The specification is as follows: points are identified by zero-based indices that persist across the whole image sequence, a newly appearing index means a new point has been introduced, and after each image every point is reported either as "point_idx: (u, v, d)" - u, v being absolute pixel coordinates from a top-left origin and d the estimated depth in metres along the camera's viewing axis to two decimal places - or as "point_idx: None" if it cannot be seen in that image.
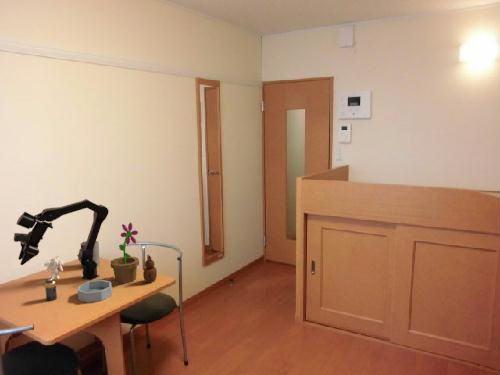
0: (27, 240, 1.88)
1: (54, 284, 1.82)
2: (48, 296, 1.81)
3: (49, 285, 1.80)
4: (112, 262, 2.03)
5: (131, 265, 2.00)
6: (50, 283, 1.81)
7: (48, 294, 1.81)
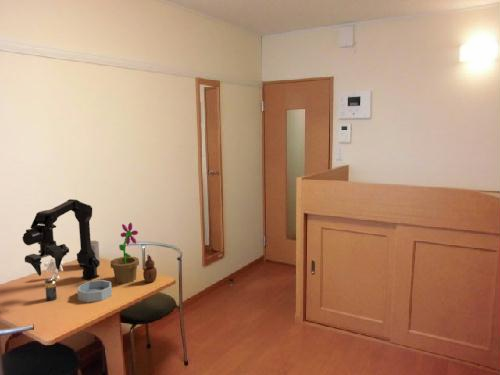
0: None
1: (54, 284, 1.82)
2: (48, 296, 1.81)
3: (49, 285, 1.80)
4: (112, 262, 2.03)
5: (131, 265, 2.00)
6: (50, 283, 1.81)
7: (48, 294, 1.81)
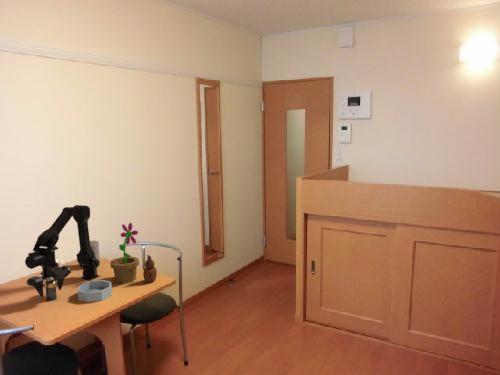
0: None
1: (54, 284, 1.82)
2: (48, 296, 1.81)
3: (49, 285, 1.80)
4: (112, 262, 2.03)
5: (131, 265, 2.00)
6: (50, 283, 1.81)
7: (48, 294, 1.81)
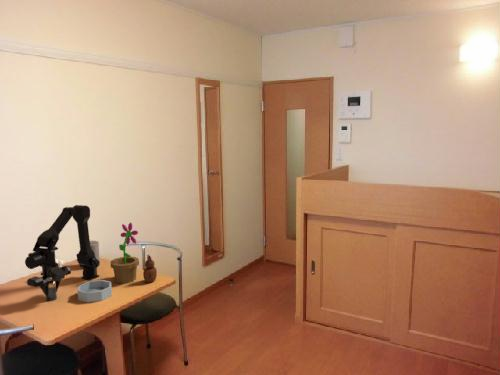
0: None
1: (54, 284, 1.82)
2: (48, 296, 1.81)
3: (49, 285, 1.80)
4: (112, 262, 2.03)
5: (131, 265, 2.00)
6: (50, 283, 1.81)
7: (48, 294, 1.81)
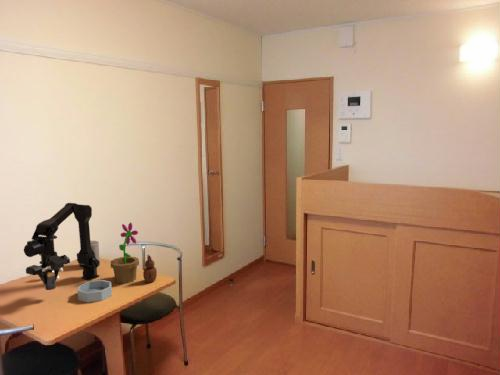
0: None
1: (53, 273, 1.81)
2: (47, 285, 1.80)
3: (48, 274, 1.80)
4: (112, 262, 2.03)
5: (131, 265, 2.00)
6: (49, 272, 1.80)
7: (47, 283, 1.80)
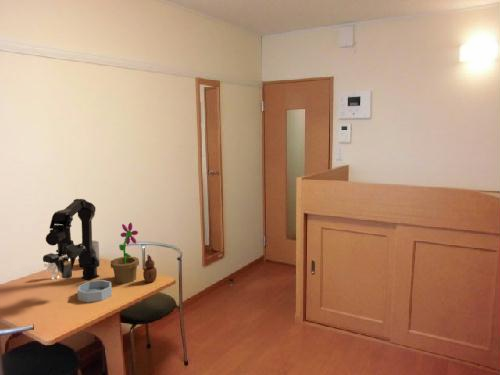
0: None
1: (69, 261, 1.82)
2: (63, 273, 1.81)
3: (64, 262, 1.80)
4: (112, 262, 2.03)
5: (131, 265, 2.00)
6: (65, 260, 1.80)
7: (63, 271, 1.81)
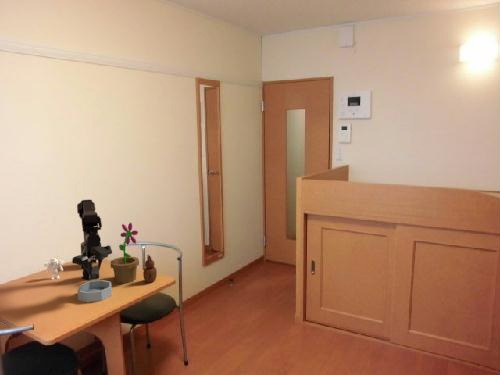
0: None
1: (97, 263, 1.85)
2: (91, 275, 1.84)
3: (93, 264, 1.83)
4: (112, 262, 2.03)
5: (131, 265, 2.00)
6: (94, 262, 1.83)
7: (91, 273, 1.84)
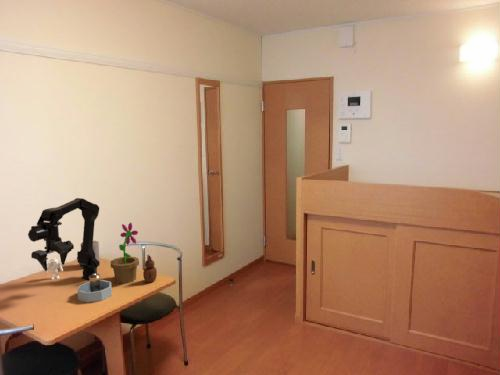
0: None
1: (98, 278, 1.86)
2: (93, 290, 1.85)
3: (94, 279, 1.84)
4: (112, 262, 2.03)
5: (131, 265, 2.00)
6: (95, 277, 1.84)
7: (93, 288, 1.85)
